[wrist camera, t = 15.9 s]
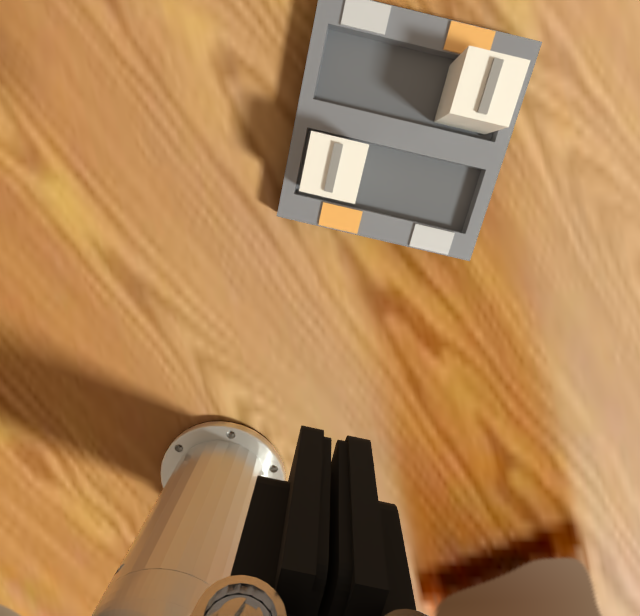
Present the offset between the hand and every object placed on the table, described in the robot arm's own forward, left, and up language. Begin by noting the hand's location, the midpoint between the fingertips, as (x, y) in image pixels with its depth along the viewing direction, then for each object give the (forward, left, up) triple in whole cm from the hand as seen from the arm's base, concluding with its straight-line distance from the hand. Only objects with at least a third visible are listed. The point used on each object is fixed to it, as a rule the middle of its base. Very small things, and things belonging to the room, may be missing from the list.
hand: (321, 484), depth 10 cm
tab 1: (+14, -7, -28) cm, 32 cm away
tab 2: (+7, +2, -28) cm, 29 cm away
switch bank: (+11, -3, -29) cm, 31 cm away
